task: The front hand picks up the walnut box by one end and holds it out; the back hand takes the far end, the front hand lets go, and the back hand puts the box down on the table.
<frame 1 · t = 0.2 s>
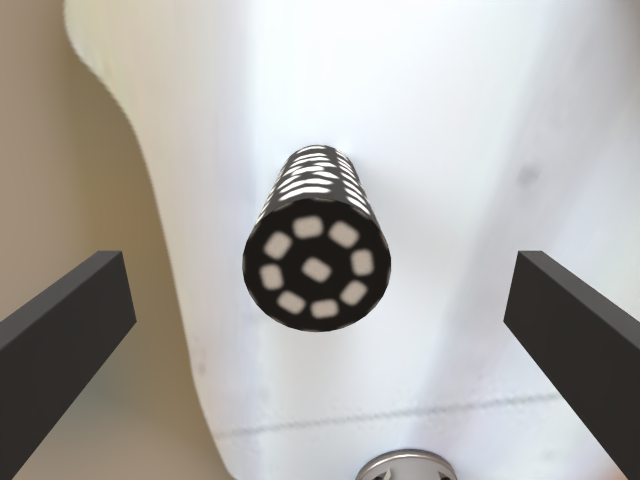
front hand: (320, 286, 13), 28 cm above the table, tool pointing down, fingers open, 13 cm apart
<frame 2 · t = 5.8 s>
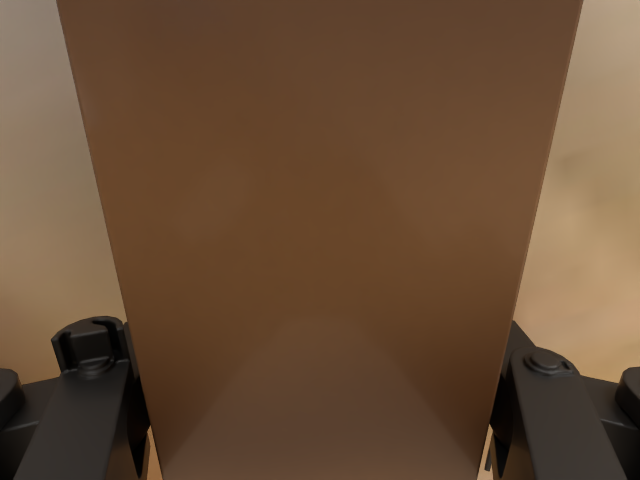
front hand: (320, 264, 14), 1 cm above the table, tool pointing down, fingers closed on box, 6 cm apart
box: (319, 41, 12), on the table, touching front hand
when the front hand's fingers open (10 cm above the table, at t = 11.2 s): box stays where it is, held by the back hand.
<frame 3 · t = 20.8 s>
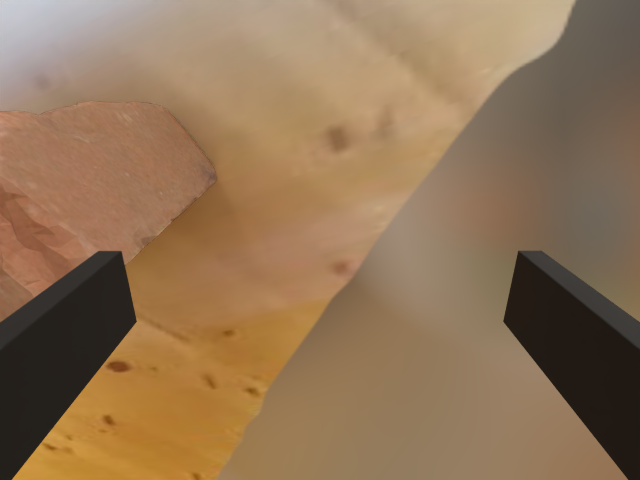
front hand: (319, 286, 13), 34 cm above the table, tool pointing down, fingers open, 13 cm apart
stone: (131, 183, 46), on the table
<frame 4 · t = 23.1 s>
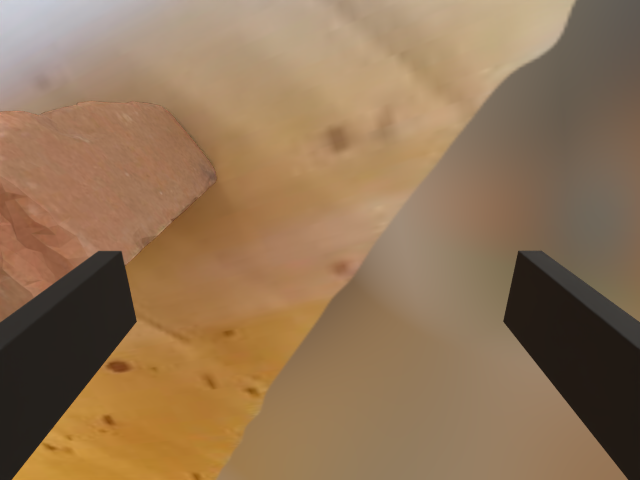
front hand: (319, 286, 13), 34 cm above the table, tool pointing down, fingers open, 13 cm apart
stone: (131, 183, 46), on the table
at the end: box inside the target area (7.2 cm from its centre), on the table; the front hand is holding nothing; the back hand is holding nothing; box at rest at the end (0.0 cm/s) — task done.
